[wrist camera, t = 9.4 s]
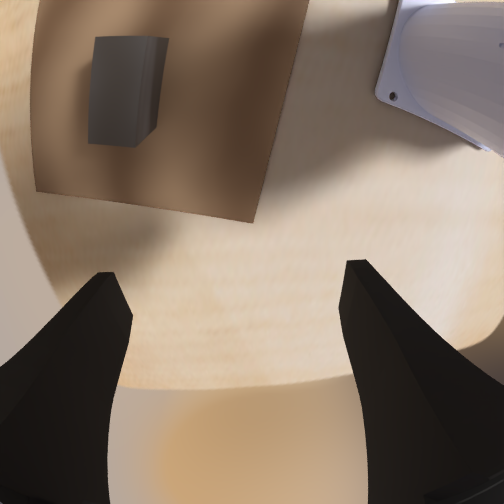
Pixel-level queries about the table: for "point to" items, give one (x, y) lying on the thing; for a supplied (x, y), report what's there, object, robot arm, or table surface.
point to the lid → (161, 100)
